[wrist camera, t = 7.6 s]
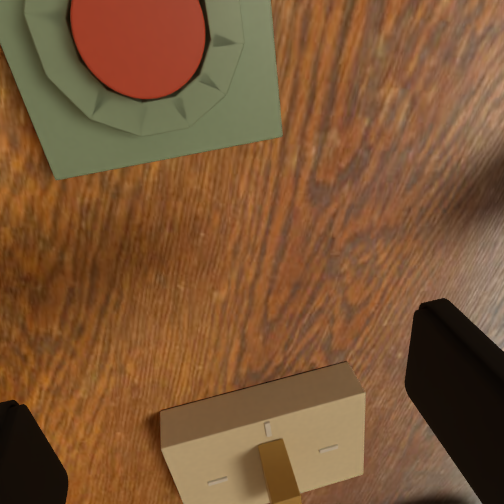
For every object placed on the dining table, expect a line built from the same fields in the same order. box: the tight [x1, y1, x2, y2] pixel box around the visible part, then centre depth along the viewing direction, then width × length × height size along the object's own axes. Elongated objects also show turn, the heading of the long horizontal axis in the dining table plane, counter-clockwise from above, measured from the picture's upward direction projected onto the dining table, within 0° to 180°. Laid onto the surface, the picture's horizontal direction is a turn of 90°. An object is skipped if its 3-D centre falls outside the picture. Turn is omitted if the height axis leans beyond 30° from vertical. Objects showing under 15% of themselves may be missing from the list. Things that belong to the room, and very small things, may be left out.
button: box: [70, 0, 206, 99], centre depth 13 cm, size 4×4×2 cm
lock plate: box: [160, 362, 366, 504], centre depth 30 cm, size 14×10×3 cm
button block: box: [0, 0, 283, 180], centre depth 15 cm, size 10×10×4 cm
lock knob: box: [258, 439, 302, 504], centre depth 27 cm, size 6×2×4 cm, turn 8°
